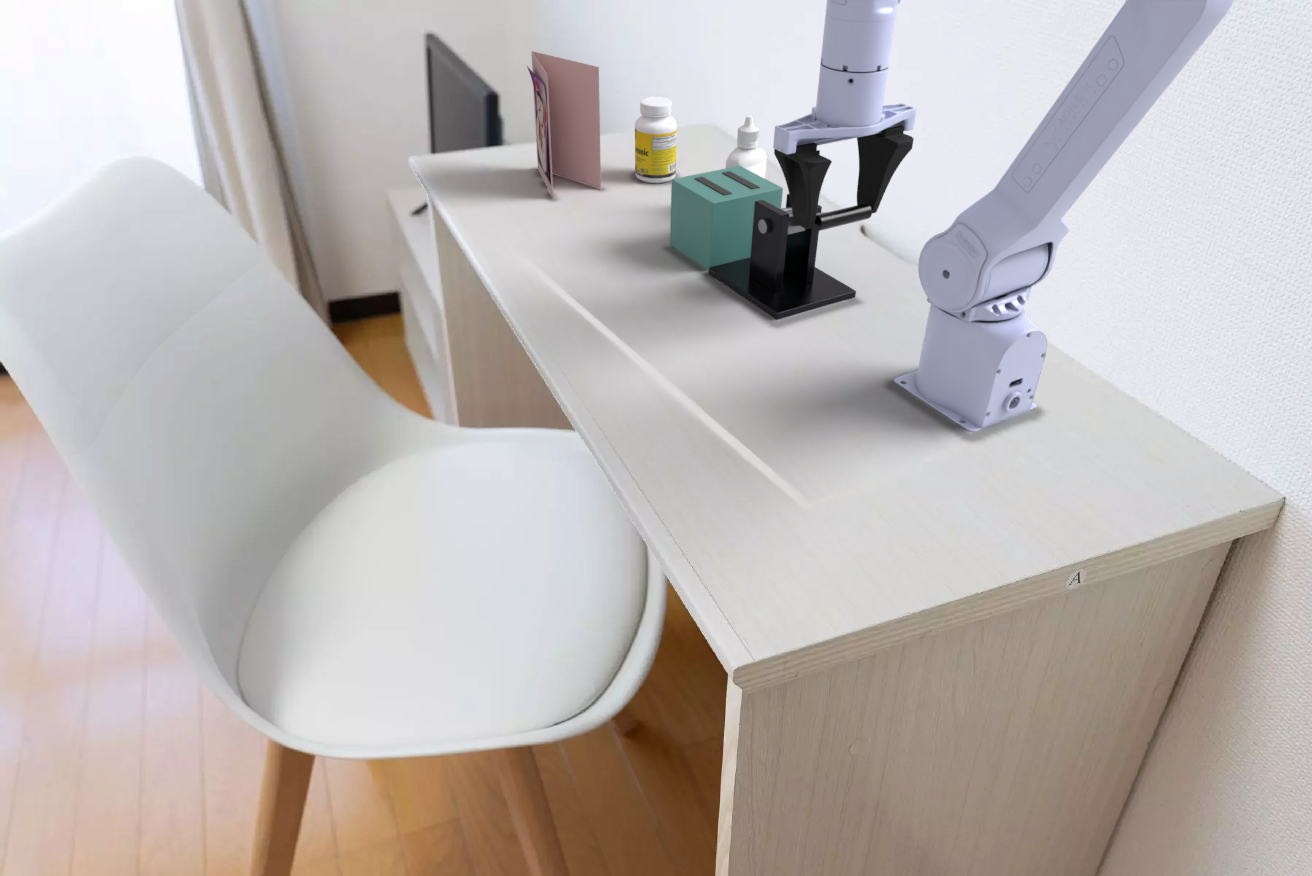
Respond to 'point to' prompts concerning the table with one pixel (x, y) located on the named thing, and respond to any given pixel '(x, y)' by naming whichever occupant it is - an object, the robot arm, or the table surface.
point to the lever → (832, 218)
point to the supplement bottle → (655, 141)
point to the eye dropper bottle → (748, 150)
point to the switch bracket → (781, 268)
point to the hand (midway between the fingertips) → (835, 217)
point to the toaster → (718, 213)
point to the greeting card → (566, 119)
